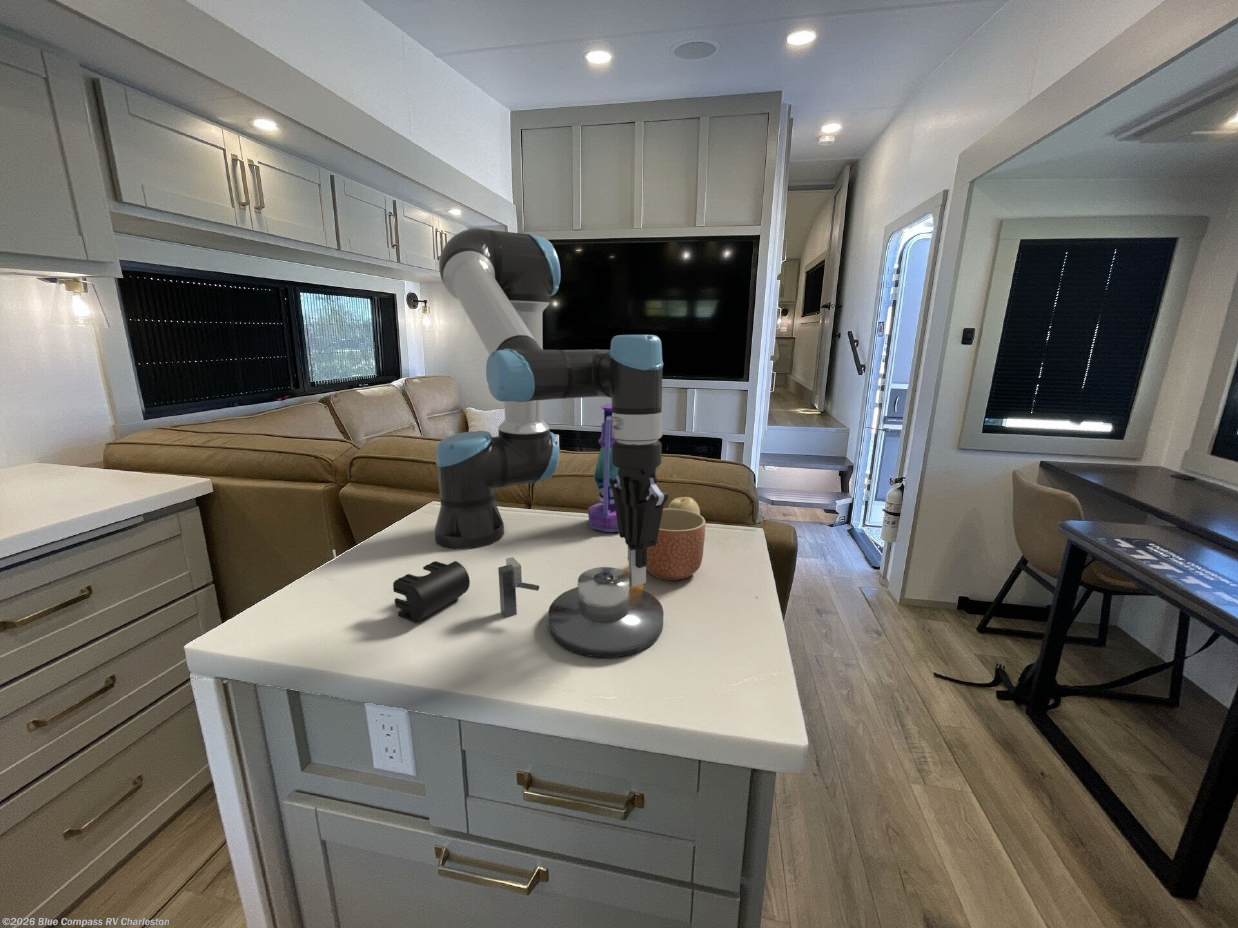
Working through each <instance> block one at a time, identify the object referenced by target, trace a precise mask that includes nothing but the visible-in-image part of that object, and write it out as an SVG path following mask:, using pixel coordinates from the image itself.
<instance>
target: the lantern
mask: <svg viewBox="0 0 1238 928" xmlns="http://www.w3.org/2000/svg"><path fill="white" fill-rule="evenodd" d="M599 407H600V408H601V409H602V410H604V411H603V422H602V423H601V434H600V438H599V439H598V443H599V445H600V446H601V447H600V450H599V452H598V453H599V454H598V456H597V459H596V460H597V461H596V465H595V470H594V474H593V479H594V482H595V484H596V486H597V487H598V489H599V494H598V496H599V497H598V501H599V502H597V503H596V504H593V505H591V506H589V507H588V510H587V511H588V513H587V514H588V523H589V525H590V528H591V529H594V530H597V531H601V532H604V533H616V532H618V533H619V530H618V523H617V516H616V510H615V503H614V496H613V491H612V488H611V485H610V482H609V480H610V478H615V477H617V476H618V469H619V468H618V467H616V466H614V465H613V462H612V443H613V442H614V441H616V439H614V438H613V437H612V425H611V422H612V401H609V402H607V403H605V404H601V405H600V406H599Z"/></svg>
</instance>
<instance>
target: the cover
mask: <svg viewBox="0 0 1238 928" xmlns="http://www.w3.org/2000/svg"><path fill="white" fill-rule="evenodd" d="M622 570H623V569H621V568H617V567H610V566H602V567H599V566H598V567H593V568H590V569H588V570H585V571H583V572H582V573H581V574H580V575H579V576H578V578H577V587H578V595H579V611H580V614H581V615H582V616H583V617H584V618H586V619H588V620H591V621H595V622H612V621H616V620H619V619H621V618H623V617H624V616H626V615H627V614H628V612H629V610H630V580H629V576H628V574H627V573H626V572H624V571H622Z"/></svg>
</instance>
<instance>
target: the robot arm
mask: <svg viewBox="0 0 1238 928" xmlns="http://www.w3.org/2000/svg"><path fill="white" fill-rule="evenodd" d="M560 265H561V264H560V260H559V256H558V253H557V251H556V249H555V248H554V245H553V244H552V242H550V241H549V240H548V239H547V238H546V237H542V236H538V235H532V234H530V233H519V232H511V231H502V230H501V231H500V230H493V229H487V228H477V227H476V228H468V229H465V230H462V231H460V232H458V233H456V234H455V235H454V236H452V237H451V238H449V240H448V241H447V242H446V244H445V245H444V246H443V248H442V250H441V254H440V256H439V260H438V270H439V274H440V278H441V281H442V283H443V285H444V287H445V288H446V290H447V292H448V293H449V294H450V295H451V296H452V297H454V298H456V299H457V300H459V303H460V304H461V306H462V308H463V309H464V311H465V313H466V315H467V317H468V319H469V320H470V322H471V324H472V326H473V327H474V330H475V331H476V333H477V335H478V337H479V339H480V340H481V343H482V344H483V345H484V347H485V349H486V351H487V353H488V357H487V360H486V366H485V377H486V382H487V385H488V391H489V393H490V394H491V396H492V397H493V398H494V399H495V400H497V401H499V402H503V403H504V420H503V421H502V422H501V423H500V424H499V425H498V427H497V429H498V435H497V436H492V435H491V432H490V431H488V430H487V431H486V430H474V431H473V430H472V431H464V432H459V433H455V434H452V435H450V436H447V437H444V438H443V439H441V440H440V441H439V442H438V444H437V445H436V462H435V465H436V466H437V475H438V477H437V478H438V489H439V498H440V499H439V501H440V508H439V511H438V515H437V518H436V523H435V527H434V541H435V543H437V545H440V546H441V547H444V548H449V549H460V550H461V549H474V548H479V547H483V546H484V547H485V546H488V545H491V544H493V543H495V542H498V541H499V540H500V539H502V538H503V537H504V535H505V523H504V520H503V518H502V515H501V513H500V511H499V508H498V505H497V504H496V498H495V489H499V488H506V487H512V486H518V485H527V484H536V483H538V482H542V481H546V480H549V479H551V477H553V475H555V473H556V471H557V469H558V465H559V461H560V446H559V445H558V442H559V440H558V439H557V437H556V435H555V434H554V433H553V432H551V431H550V426H549V425H548V423H546V422H545V421H544V408H543V407H544V401H549V400H561V399H562V400H565V399H582V398H583V399H584V398H598V397H599V398H611V402H612V422H611V425H612V437H613V438H614V439H616V441H614V442H613V443H612V462H613V465H614V466H616V467H618V468H619V469H618V476H617V477H615V478H610V480H609V482H610V485H611V488H612V491H613V496H614V503H615V510H616V516H617V523H618V530H619V532H618V536H619V538H621V539H623V538H624V541H625V542H624V543H625V544H626V546H627V562H628V567H629V580H630V586H632V587H633V586H636V585H640V584H643V585H644V584H646V583H647V569H646V565H647V548H649V547H652V546H655V545H656V543H657V538H658V532H659V527H660V522H661V517H662V512H663V509H664V506H665V504H666V502H667V501H668V499H669V494H668V492H667V491H661V490H660V488H659V487H658V477H657V472H656V470H657V468H658V467H659V466H661V464H662V456H663V455H662V452H663V451H662V446H663V445H662V442H661V441H660V440H659V439H661V438H662V437H663V411H662V406H663V403H662V402H663V368H664V362H663V347H662V341H661V339H660V337H659V336H658V335H655V334H620V335H615V336H613V337H612V339H611V341H610V349H598V348H596V349H544V347H543V345H544V344H543V342H544V341H543V313H544V310H545V309H547V307H548V306H549V305H550V297H552V296H555V294H557V292H558V290H559V287H560V283H561V266H560Z"/></svg>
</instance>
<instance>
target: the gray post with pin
mask: <svg viewBox="0 0 1238 928" xmlns="http://www.w3.org/2000/svg"><path fill="white" fill-rule="evenodd" d="M505 564H506V565H503V566H499V567H498V568H497V569H498V585H499V586H498V587H499V605H500V613H501V615H503V617H504V618H508V617H513V616H515V615H517V614H518V611H517V589H516V588H520V589H526V590H532V591H537V592H538V591H540V585H539V584H538V585H537V584H532V583H527V582H522V580H523V579H522V564H520V563H519V562H518V560H517V559H516V558H514V557H513V556H512V557H508V558H507V557H506V558H505Z"/></svg>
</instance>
